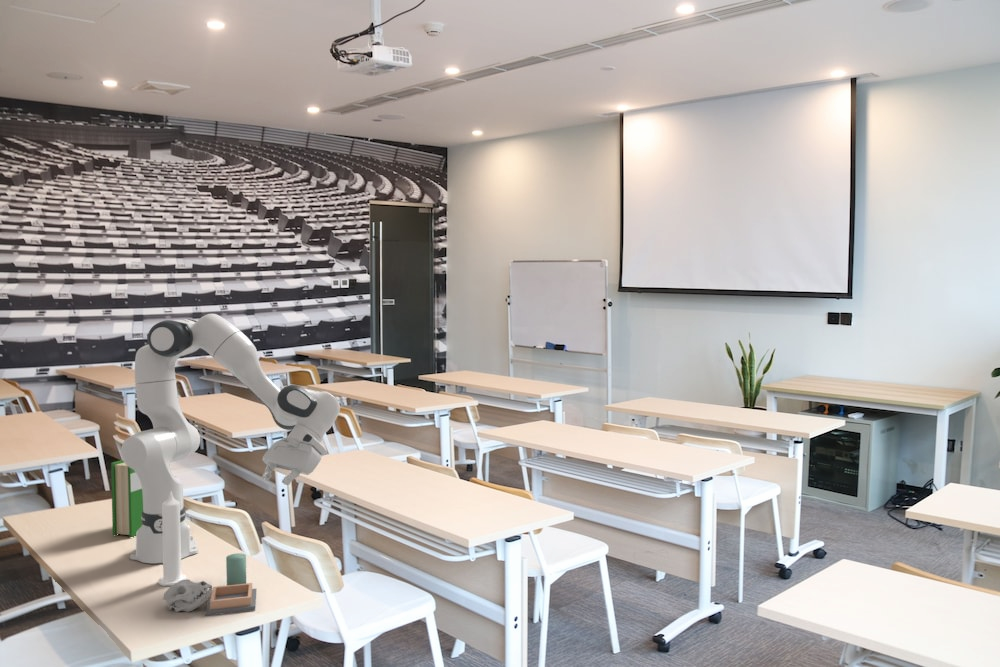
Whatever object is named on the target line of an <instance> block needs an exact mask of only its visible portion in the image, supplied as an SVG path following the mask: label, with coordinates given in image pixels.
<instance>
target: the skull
mask: <svg viewBox="0 0 1000 667" xmlns="http://www.w3.org/2000/svg"><path fill="white" fill-rule="evenodd" d="M212 590H213V586H212V584H210V583H208V582H207V581H204V580H202V581H198V582H194V581H192V580H191V579H186V580H181V581H179V582H177V583H175V584H174V585H173V586H169V588H167V590H166V591H165V592H164V594H163V596H162V599H163V601H165V603H166V605H167V607H168V608H169V610H173V609H174V612H176V613H178V612H182V611H184V612H186V613H190V612H192V611H194V610H195V609H197V608H199V607H200V606H202V604H204V603H206V602H208V599H209V598H210V597H211V595H212Z"/></svg>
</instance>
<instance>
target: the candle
mask: <svg viewBox="0 0 1000 667" xmlns="http://www.w3.org/2000/svg"><path fill="white" fill-rule="evenodd" d="M162 530H163V563H162V566H163V568H162V569H163V570H162V571H163V576H162V577H160V578H159V579H158V584H159V586H162V587H171V586H173V585H174V584H175V583H177V582H179V581H181V580H188V579H187V575H186V574H183V573H182V559H181V529H180V502H179V501H177V500H175V499H174V497H173V494H172V492H171V491H170V493H169V497H168V500H166V501H165V502H164V503H163V504H162Z"/></svg>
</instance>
